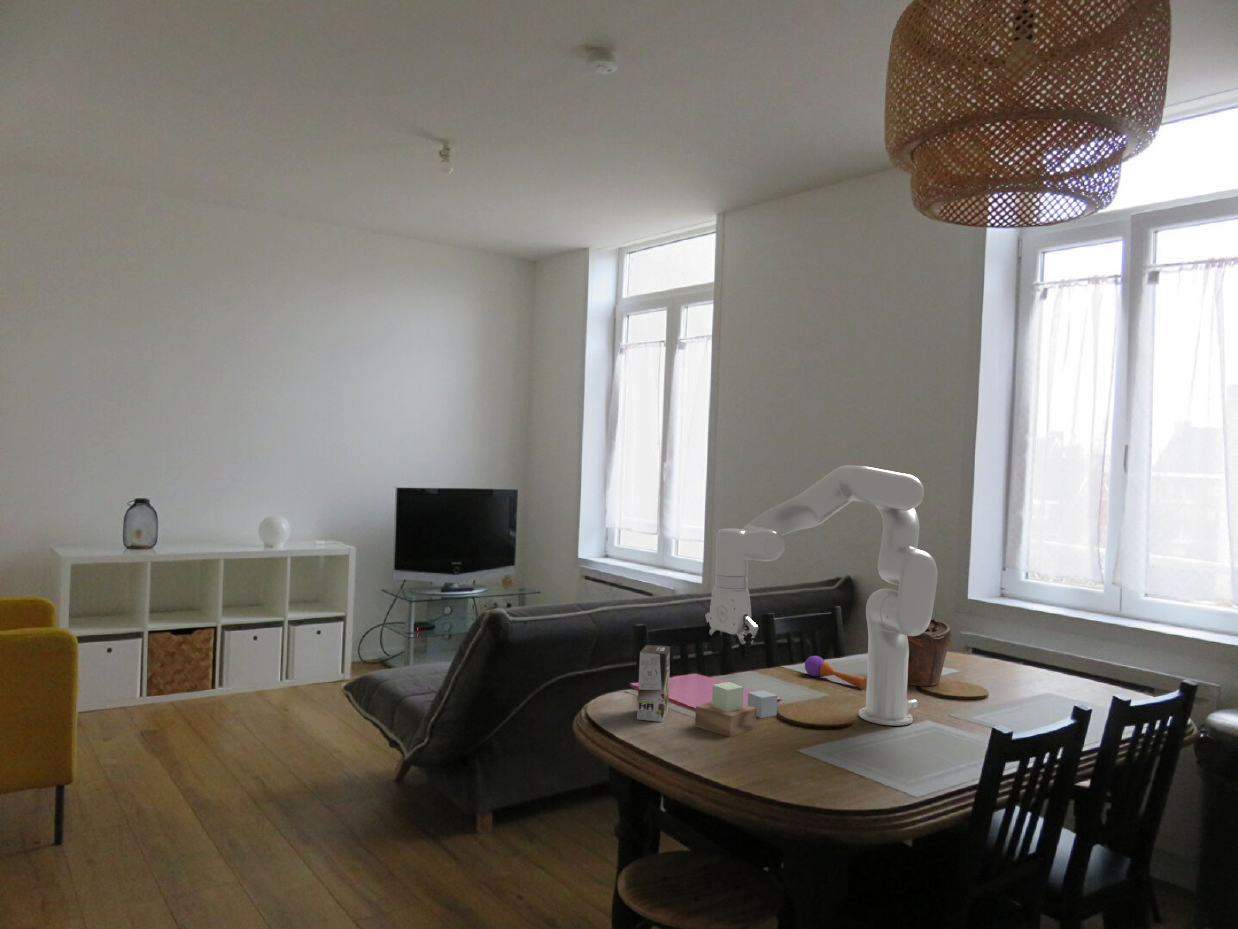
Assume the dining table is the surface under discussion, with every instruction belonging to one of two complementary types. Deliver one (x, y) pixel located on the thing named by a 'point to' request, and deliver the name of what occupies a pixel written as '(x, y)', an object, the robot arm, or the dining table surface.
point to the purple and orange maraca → (831, 672)
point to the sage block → (727, 696)
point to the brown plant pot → (928, 654)
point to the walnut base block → (725, 719)
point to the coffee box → (653, 683)
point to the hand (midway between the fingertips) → (730, 656)
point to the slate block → (763, 703)
